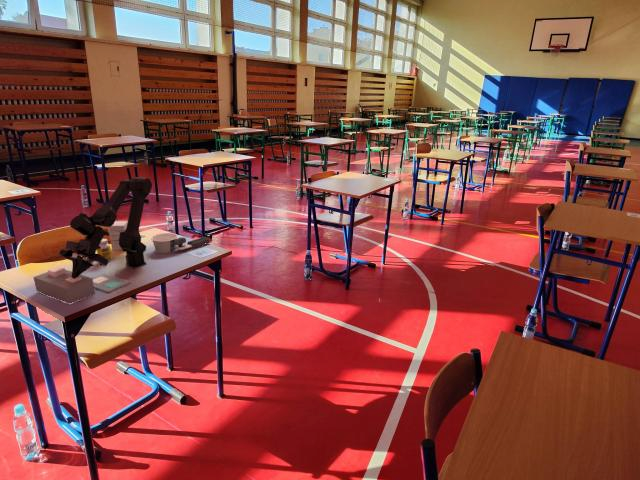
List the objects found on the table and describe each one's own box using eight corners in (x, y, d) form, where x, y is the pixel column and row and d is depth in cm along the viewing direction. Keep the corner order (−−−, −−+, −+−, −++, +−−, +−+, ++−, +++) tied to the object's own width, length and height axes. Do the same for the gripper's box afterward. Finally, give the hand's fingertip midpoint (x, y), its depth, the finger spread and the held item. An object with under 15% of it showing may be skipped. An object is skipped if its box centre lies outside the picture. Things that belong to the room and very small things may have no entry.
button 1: (60, 275, 163) (58, 266, 162) (66, 277, 161) (64, 268, 160) (49, 279, 160) (47, 270, 158) (56, 281, 158) (54, 272, 156)
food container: (147, 250, 202) (145, 237, 200) (168, 243, 211) (167, 231, 209) (162, 256, 196) (161, 242, 193) (183, 248, 205) (182, 236, 203)
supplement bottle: (103, 263, 186) (100, 243, 183) (96, 261, 189) (92, 240, 185) (114, 259, 191) (111, 239, 187) (107, 257, 193) (103, 237, 190)
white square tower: (116, 245, 208) (113, 221, 204) (132, 244, 209) (128, 220, 204) (111, 250, 201) (107, 225, 197) (127, 250, 202) (123, 225, 198)
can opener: (179, 254, 199) (177, 241, 196) (172, 251, 201) (171, 239, 199) (211, 243, 213) (210, 231, 211) (205, 241, 216) (204, 229, 213)
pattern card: (104, 274, 175) (104, 273, 175) (130, 283, 168) (130, 281, 168) (81, 284, 166) (81, 282, 166) (108, 293, 160) (108, 291, 159)
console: (62, 282, 167) (59, 267, 165) (95, 293, 159) (92, 278, 157) (37, 292, 159) (33, 277, 157) (69, 304, 150) (66, 288, 148)
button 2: (77, 285, 159) (75, 275, 158) (83, 287, 157) (82, 277, 156) (67, 289, 156) (64, 279, 154) (73, 291, 154) (71, 281, 153)
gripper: (58, 228, 157) (37, 266, 151) (97, 234, 152) (76, 273, 145) (79, 241, 167) (60, 277, 161) (116, 247, 161) (98, 284, 155)
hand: (73, 278), depth 155 cm, fingers closed, pressing on button 2
